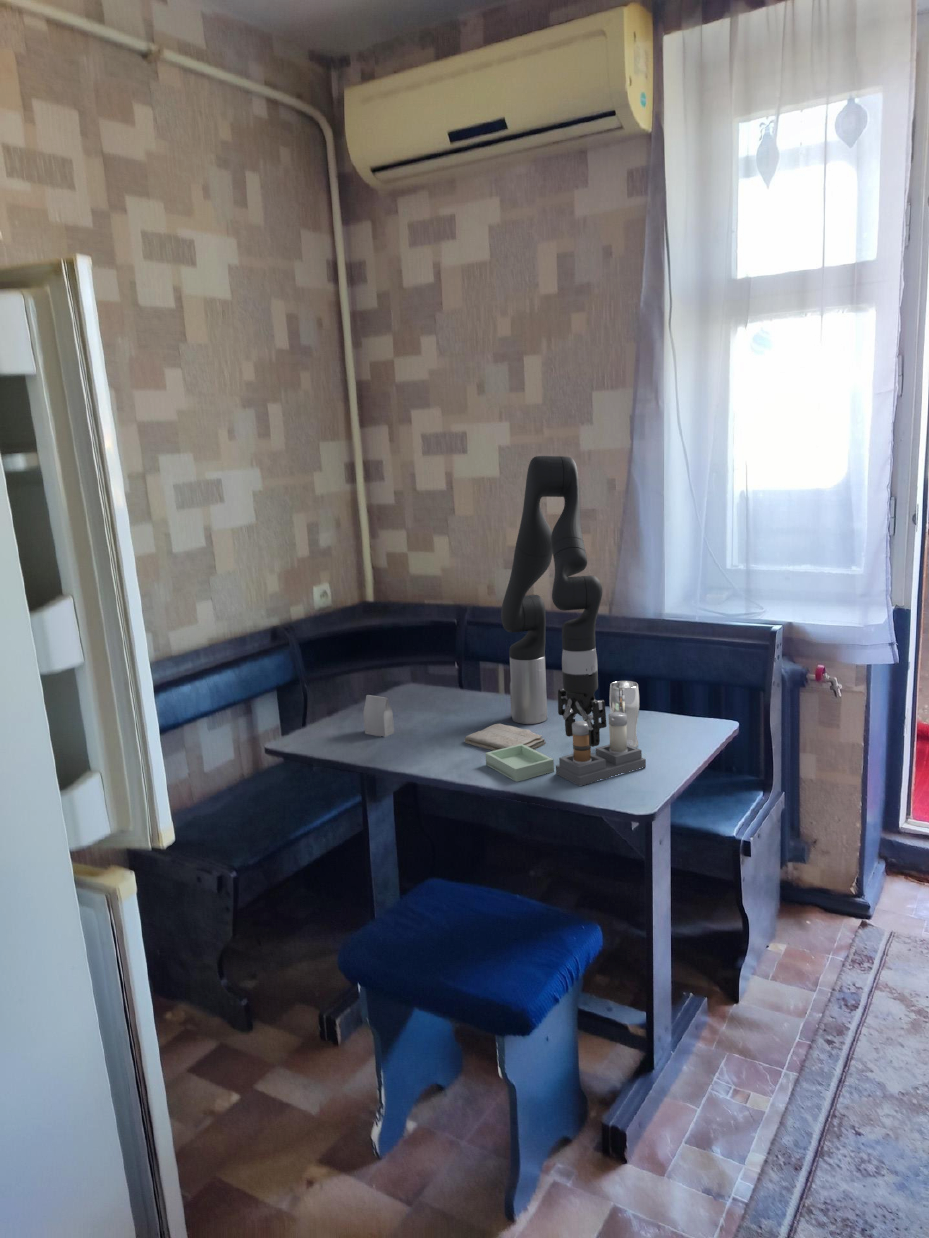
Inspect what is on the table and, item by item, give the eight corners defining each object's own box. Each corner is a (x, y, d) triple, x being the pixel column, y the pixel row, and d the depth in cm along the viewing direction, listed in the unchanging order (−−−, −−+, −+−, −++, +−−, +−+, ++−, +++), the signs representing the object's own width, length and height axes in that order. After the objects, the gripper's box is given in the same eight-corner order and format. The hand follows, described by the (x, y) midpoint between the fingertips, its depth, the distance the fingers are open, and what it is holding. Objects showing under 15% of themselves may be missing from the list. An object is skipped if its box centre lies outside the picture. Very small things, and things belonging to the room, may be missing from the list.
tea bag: (385, 737, 233) (382, 699, 231) (365, 733, 237) (362, 696, 235) (394, 732, 236) (391, 696, 234) (374, 729, 240) (371, 693, 238)
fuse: (605, 756, 204) (604, 714, 202) (619, 753, 206) (619, 711, 204) (617, 761, 201) (616, 718, 199) (631, 757, 203) (630, 715, 201)
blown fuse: (569, 766, 200) (568, 723, 198) (584, 762, 201) (583, 719, 199) (580, 771, 196) (579, 727, 194) (595, 767, 198) (594, 724, 196)
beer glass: (618, 751, 213) (616, 689, 210) (605, 742, 220) (604, 682, 217) (645, 747, 215) (644, 686, 212) (632, 738, 221) (631, 679, 218)
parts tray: (486, 764, 209) (485, 752, 209) (522, 755, 214) (522, 743, 213) (516, 781, 198) (515, 769, 197) (554, 771, 203) (553, 759, 202)
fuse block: (556, 773, 201) (555, 756, 200) (620, 756, 210) (619, 739, 209) (580, 786, 193) (579, 768, 193) (645, 767, 202) (645, 750, 201)
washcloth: (517, 759, 213) (516, 747, 212) (462, 744, 225) (461, 733, 225) (548, 745, 221) (548, 733, 221) (494, 732, 233) (493, 720, 233)
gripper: (546, 665, 199) (549, 736, 202) (585, 678, 186) (588, 753, 189) (574, 659, 202) (577, 729, 205) (614, 671, 190) (616, 745, 193)
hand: (582, 740), depth 197 cm, fingers open, 8 cm apart
